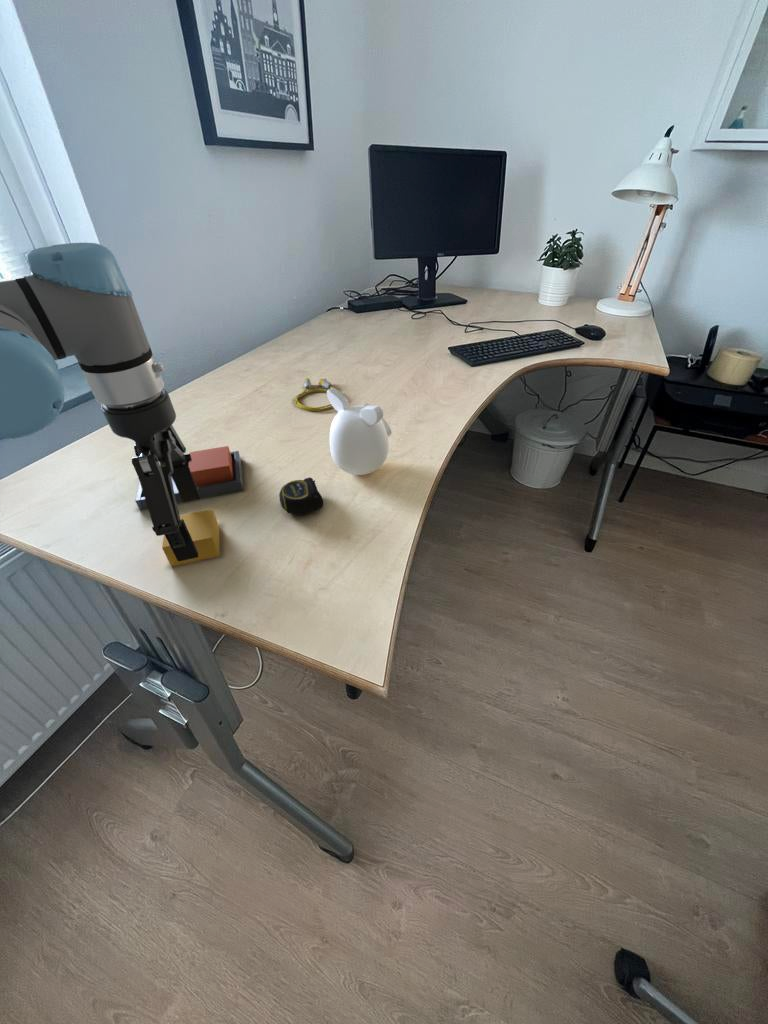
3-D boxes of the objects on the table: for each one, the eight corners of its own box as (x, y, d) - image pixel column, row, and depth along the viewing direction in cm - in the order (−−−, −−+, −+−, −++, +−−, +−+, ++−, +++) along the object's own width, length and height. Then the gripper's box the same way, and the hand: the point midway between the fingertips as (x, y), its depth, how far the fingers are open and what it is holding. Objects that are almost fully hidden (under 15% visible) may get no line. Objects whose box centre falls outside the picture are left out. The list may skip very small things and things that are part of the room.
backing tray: (139, 509, 75) (135, 501, 74) (146, 475, 83) (143, 466, 82) (243, 490, 79) (240, 481, 77) (240, 459, 87) (238, 450, 86)
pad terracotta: (194, 490, 78) (187, 472, 76) (196, 469, 83) (189, 452, 81) (234, 483, 80) (229, 465, 77) (233, 463, 85) (228, 445, 82)
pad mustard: (171, 566, 65) (161, 547, 62) (174, 536, 70) (165, 517, 67) (219, 556, 66) (212, 537, 64) (219, 527, 71) (212, 508, 69)
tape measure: (326, 513, 73) (323, 496, 71) (285, 523, 72) (282, 506, 69) (316, 490, 78) (314, 473, 76) (278, 499, 77) (274, 482, 74)
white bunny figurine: (402, 459, 86) (403, 387, 76) (375, 492, 78) (372, 416, 68) (348, 445, 90) (342, 376, 80) (317, 475, 82) (306, 402, 72)
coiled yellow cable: (351, 385, 113) (351, 378, 111) (334, 414, 101) (334, 406, 99) (306, 383, 114) (305, 375, 113) (285, 410, 103) (284, 402, 101)
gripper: (156, 442, 43) (216, 580, 57) (173, 354, 62) (215, 475, 75) (73, 455, 42) (155, 594, 56) (116, 362, 60) (170, 484, 74)
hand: (190, 526), depth 66 cm, fingers open, 13 cm apart
